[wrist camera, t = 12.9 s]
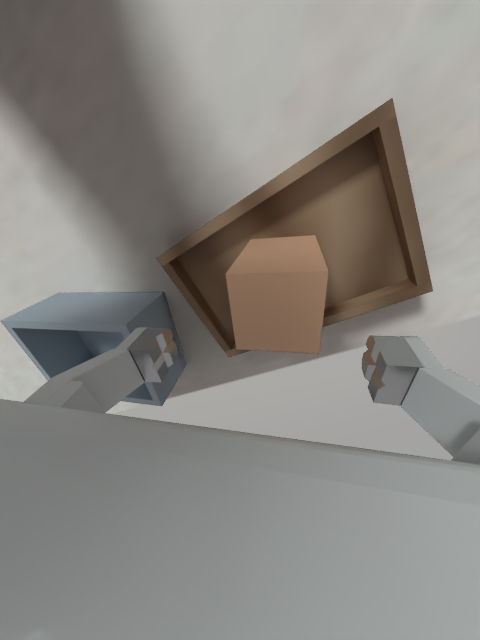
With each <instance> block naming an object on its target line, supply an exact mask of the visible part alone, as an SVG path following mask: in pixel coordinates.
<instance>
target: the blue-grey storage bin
mask: <svg viewBox="0 0 480 640" xmlns="http://www.w3.org/2000/svg"><path fill="white" fill-rule="evenodd" d="M1 322H2V324H3V325H4V326H5V327H6V329H7V330H8V331H9V332H10V334H11V335H12V336H13V337H14V339H15V340H16V341H17V343H18V344H19V345H20V346H21V348H22V349H23V350H24V351H25V353H26V354H27V355H28V356H29V358H30V359H31V360H32V361H33V363H34V364H35V365H36V366H37V368H38V369H39V370H40V371H41V373H42V374H43V375H44V376H45V378H46V379H47V380H48V381H49V380H50V379H51V378H52V377H54V376H56V375H59V374H61V373H63V372H65V371H67V370H69V369H71V368H73V367H75V366H78V365H80V364H82V363H84V362H86V361H88V360H90V359H92V358H94V357H97V356H99V355H101V354H103V353H105V352H107V351H109V350H111V349H116V348H117V347H118V346H119V345H120V344H121V343H122V342H123V341H124V340H125V339H126V338H127V337H128V336H129V335H130V334H131V333H132V332H133V331H134V330H135V329H136V328H139V327H147V328H165V329H170V330H171V332H172V334H173V338H172V341H173V342H174V343H175V344H176V346H177V352H178V353H177V358H176V360H175V362H174V364H172V365H171V366H169V367H168V369H169V372H168V374H167V375H166V377H165V378H164V380H163V382H162V383H161V382H145V381H144V383H143V384H142V385H140V386H139V387H138V388H137V389H135V390H134V391H133V392H131V393H130V394H129V395H127V396H126V397H125V398H124V399H122V400H121V401H125V402H133V403H141V404H149V405H157V406H162V405H163V404H164V402H165V400H166V399H167V397H168V395H169V393H170V392H171V390H172V388H173V387H174V385H175V383H176V382H177V380H178V378H179V376H180V375H181V373H182V371H183V370H184V368H185V366H186V362H185V359H184V355H183V352H182V349H181V346H180V342H179V339H178V336H177V333H176V330H175V326H174V323H173V320H172V317H171V313H170V310H169V307H168V304H167V300H166V297H165V294H164V292H114V293H57V294H55V295H53V296H51V297H49V298H47V299H45V300H43V301H41V302H39V303H36V304H34V305H32V306H30V307H28V308H26V309H24V310H22V311H20V312H18V313H16V314H13V315H11V316H9V317H7V318H5V319H3V320H1Z"/></svg>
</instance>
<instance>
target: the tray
mask: <svg viewBox="0 0 480 640" xmlns="http://www.w3.org/2000/svg"><path fill="white" fill-rule="evenodd" d="M311 235H315V236H316V239H317V241H318V244H319V247H320V249H321V252H322V255H323V258H324V260H325V263H326V266H327V268H328V271H329V272H328V281H327V290H326V299H325V308H324V317H323V326H322V327H324V326H327V325H330V324H333V323H336V322H339V321H342V320H345V319H349V318H352V317H355V316H358V315H361V314H364V313H367V312H370V311H373V310H376V309H379V308H382V307H386V306H389V305H392V304H395V303H398V302H401V301H404V300H407V299H410V298H413V297H416V296H419V295H422V294H426V293H429V292H432V291H433V289H432V284H431V279H430V275H429V270H428V265H427V260H426V256H425V251H424V246H423V241H422V237H421V232H420V227H419V222H418V217H417V213H416V208H415V203H414V198H413V194H412V189H411V184H410V179H409V175H408V170H407V165H406V160H405V156H404V151H403V146H402V141H401V137H400V132H399V127H398V122H397V118H396V113H395V108H394V103H393V99H392V98H391V99H390V100H388V101H387V102H385V103H384V104H383V105H381V106H380V107H378V108H377V109H375V110H374V111H372V112H371V113H369V114H368V115H366V116H365V117H363V118H362V119H360V120H359V121H358V122H356V123H355V124H353V125H352V126H350V127H349V128H347V129H346V130H344V131H343V132H341V133H340V134H338V135H337V136H335V137H334V138H333V139H331V140H330V141H328V142H327V143H325V144H324V145H322V146H321V147H319V148H318V149H316V150H315V151H313V152H312V153H310V154H309V155H308V156H306V157H305V158H303V159H302V160H300V161H299V162H297V163H296V164H294V165H293V166H291V167H290V168H288V169H287V170H285V171H284V172H283V173H281V174H280V175H278V176H277V177H275V178H274V179H272V180H271V181H269V182H268V183H266V184H265V185H263V186H262V187H260V188H259V189H258V190H256V191H255V192H253V193H252V194H250V195H249V196H247V197H246V198H244V199H243V200H241V201H240V202H238V203H237V204H235V205H234V206H233V207H231V208H230V209H228V210H227V211H225V212H224V213H222V214H221V215H219V216H218V217H216V218H215V219H213V220H212V221H210V222H209V223H208V224H206V225H205V226H203V227H202V228H200V229H199V230H197V231H196V232H194V233H193V234H191V235H190V236H188V237H187V238H185V239H184V240H183V241H181V242H180V243H178V244H177V245H175V246H174V247H172V248H171V249H169V250H168V251H166V252H165V253H163V254H162V255H160V256H159V257H158V258H156V259H157V260H158V262H159V263H160V264H161V266H162V267H163V268H164V270H165V271H166V272H167V274H168V275H169V277H170V278H171V279H172V281H173V282H174V283H175V285H176V286H177V288H178V289H179V290H180V292H181V293H182V294H183V296H184V297H185V298H186V300H187V301H188V303H189V304H190V305H191V307H192V308H193V309H194V311H195V312H196V313H197V315H198V316H199V318H200V319H201V320H202V322H203V323H204V324H205V326H206V327H207V328H208V330H209V331H210V333H211V334H212V335H213V337H214V338H215V339H216V341H217V342H218V343H219V345H220V346H221V348H222V349H223V350H224V352H225V353H226V354H227V356H228V357H231V356H235V355H238V354H241V353H244V352H247V351H250V350H240V349H236V344H235V337H234V330H233V323H232V316H231V309H230V302H229V295H228V288H227V281H226V273H227V271H228V270H229V268H230V267H231V266H232V264H233V263H234V262H235V260H236V259H237V258H238V256H239V255H240V254H241V252H242V251H243V249H244V248H245V247H246V245H247V244H248V243H249V241H250V240H251V239H264V238H279V237H295V236H311Z"/></svg>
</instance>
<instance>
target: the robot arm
mask: <svg viewBox="0 0 480 640" xmlns="http://www.w3.org/2000/svg"><path fill="white" fill-rule="evenodd" d="M172 338H173V334H172V332H171V330H170V329H165V328H147V327H139V328H136V329H135V330H134V331H133V332H132V333H131V334H130V335H129V336H128V337H127V338H126V339H125V340H124V341H123V342H122V343H121V344H120V345H119V346H118V347H117V348H116V349H111V350H109V351H107V352H105V353H103V354H101V355H99V356H97V357H94V358H92V359H90V360H88V361H86V362H84V363H82V364H80V365H78V366H75V367H73V368H71V369H69V370H67V371H65V372H63V373H61V374H59V375H56V376H54V377H52V378H51V379H50V380H49V381H47V382H46V383H45V384H44V385H43V386H42V387H40V388H39V389H38V390H37V391H36V392H35V393H34V394H32V395H31V396H30V397H29V398H28V399H27V400H25V401H24V402H18V401H11V400H4V399H0V640H480V386H479V385H478V384H476V383H474V382H472V381H470V380H468V379H467V378H465V377H463V376H461V375H459V374H457V373H456V372H454V371H452V370H449V369H444V368H443V366H442V365H441V364H440V363H439V361H438V360H437V359H436V357H435V356H434V355H433V353H432V352H431V351H430V350H429V348H428V347H427V346H426V345H425V343H424V342H423V341H422V339H421V338H419V337H417V336H400V337H398V336H369V337H368V339H367V342H366V345H367V348H368V350H367V351H366V352H365V353H364V354H363V358H362V370H363V374H364V377H365V378H366V379H367V380H368V381H369V386H368V389H369V391H370V394H371V397H372V399H373V402H375V403H383V404H392V405H400V406H401V408H403V409H404V410H405V411H406V412H407V413H408V414H409V415H410V416H411V417H412V418H413V419H414V420H415V421H416V422H417V423H418V424H419V425H420V426H421V427H422V428H423V429H425V430H426V431H427V432H428V433H429V434H430V435H431V436H432V437H433V438H434V439H435V440H436V441H437V442H438V443H440V445H441V446H442V447H443V448H444V449H445V450H447V451H448V452H449V453H450V454H451V455H452V456H453V457H454V458H453V459H452V460H443V459H436V458H428V457H420V456H414V455H407V454H399V453H392V452H385V451H378V450H370V449H363V448H355V447H348V446H341V445H333V444H326V443H318V442H311V441H303V440H296V439H289V438H281V437H274V436H267V435H259V434H252V433H245V432H237V431H230V430H223V429H216V428H208V427H201V426H194V425H187V424H179V423H172V422H164V421H157V420H150V419H142V418H135V417H128V416H121V415H113V414H106V413H105V412H107V411H108V410H109V409H111V408H112V407H113V406H114V405H116V404H117V403H118V402H120V401H121V400H122V399H124V398H125V397H126V396H127V395H129V394H130V393H131V392H133V391H134V390H135V389H137V388H138V387H139V386H140V385H142V384H143V383H144V381H145V382H161V383H162V382H163V380H164V378H165V377H166V375H167V374H168V372H169V369H168V367H169V366H171V365H172V364H174V362H175V360H176V358H177V353H178V352H177V346H176V344H175V343H174V342H173V341H172Z"/></svg>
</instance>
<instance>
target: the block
mask: <svg viewBox="0 0 480 640" xmlns="http://www.w3.org/2000/svg"><path fill="white" fill-rule="evenodd" d="M328 272H329V271H328V268H327V266H326V263H325V260H324V258H323V255H322V252H321V249H320V247H319V244H318V241H317V239H316V236H315V235H311V236H295V237H279V238H264V239H251V240H250V241H249V243H248V244H247V245H246V247H245V248H244V249H243V251H242V252H241V254H240V255H239V256H238V258H237V259H236V260H235V262H234V263H233V264H232V266H231V267H230V268H229V270H228V271H227V273H226V281H227V288H228V295H229V302H230V309H231V316H232V323H233V330H234V337H235V344H236V349H240V350H258V351H276V352H294V353H313V354H319V352H320V343H321V335H322V326H323V317H324V308H325V299H326V290H327V281H328Z"/></svg>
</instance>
